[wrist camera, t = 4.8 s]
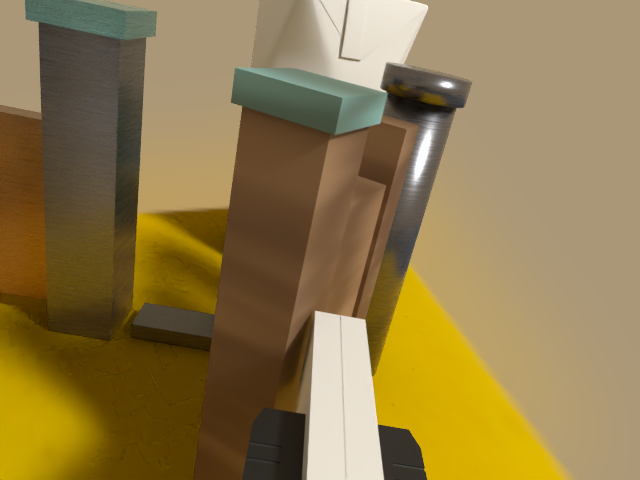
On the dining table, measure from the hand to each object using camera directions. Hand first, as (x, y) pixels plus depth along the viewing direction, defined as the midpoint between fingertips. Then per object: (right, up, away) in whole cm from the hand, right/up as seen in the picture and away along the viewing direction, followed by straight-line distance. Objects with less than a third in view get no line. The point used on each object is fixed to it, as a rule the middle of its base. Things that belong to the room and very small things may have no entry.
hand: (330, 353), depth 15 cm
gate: (-2, -4, +6) cm, 7 cm away
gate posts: (-7, -1, +11) cm, 14 cm away
